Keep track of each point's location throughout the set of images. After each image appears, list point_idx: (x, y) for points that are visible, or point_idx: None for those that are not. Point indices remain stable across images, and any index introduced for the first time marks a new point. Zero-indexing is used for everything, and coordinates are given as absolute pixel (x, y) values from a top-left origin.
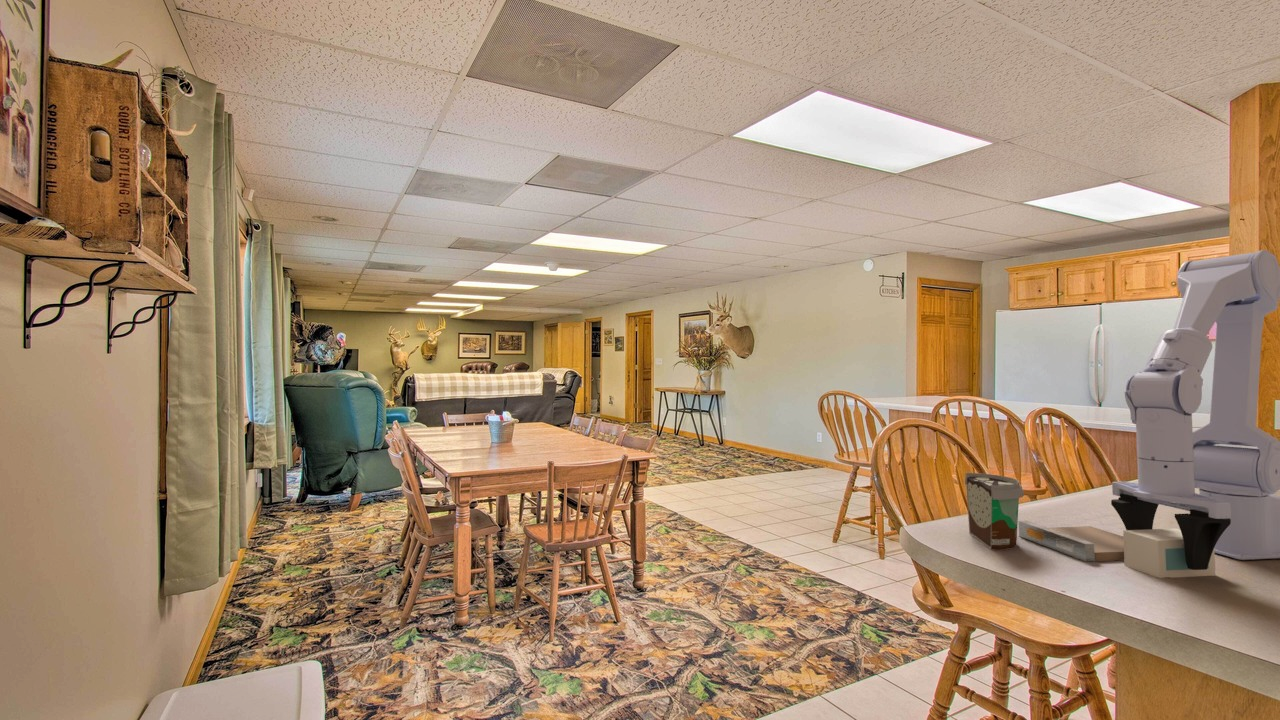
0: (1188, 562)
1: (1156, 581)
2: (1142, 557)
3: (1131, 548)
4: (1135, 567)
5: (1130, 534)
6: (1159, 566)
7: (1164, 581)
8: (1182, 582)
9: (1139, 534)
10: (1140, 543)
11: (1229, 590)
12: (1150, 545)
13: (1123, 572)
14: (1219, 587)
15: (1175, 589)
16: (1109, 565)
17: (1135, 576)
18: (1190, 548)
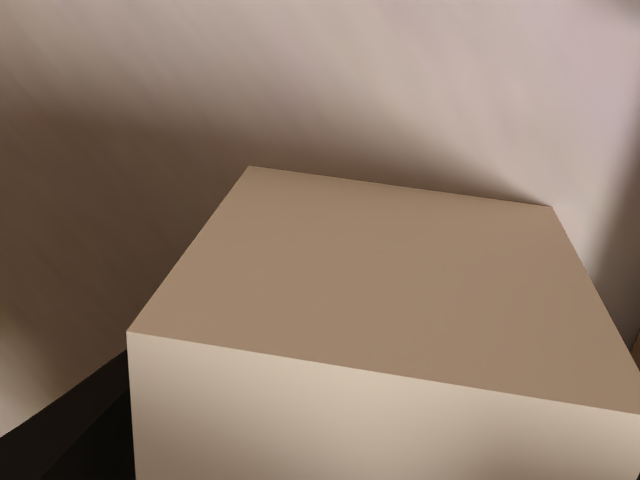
0: (121, 368)
1: (183, 62)
2: (377, 235)
3: (502, 280)
4: (449, 197)
5: (535, 379)
6: (222, 202)
7: (177, 122)
8: (147, 219)
9: (421, 405)
10: (384, 306)
11: (8, 324)
12: (253, 294)
13: (419, 13)
14: (55, 326)
15: (16, 21)
16: (604, 80)
17: (311, 13)
18: (2, 439)
